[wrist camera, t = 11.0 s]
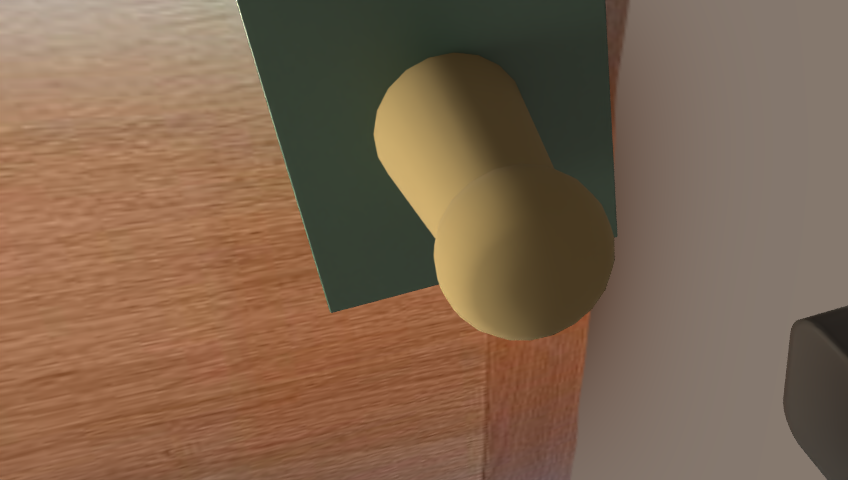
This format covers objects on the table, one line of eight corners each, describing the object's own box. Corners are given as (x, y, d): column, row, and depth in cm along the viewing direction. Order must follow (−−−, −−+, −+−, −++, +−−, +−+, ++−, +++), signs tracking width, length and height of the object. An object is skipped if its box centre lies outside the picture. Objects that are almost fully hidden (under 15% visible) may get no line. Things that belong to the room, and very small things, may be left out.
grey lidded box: (232, -65, 35) (231, -12, 27) (519, -130, 36) (600, -97, 28) (312, 209, 42) (330, 313, 34) (547, 149, 43) (618, 237, 35)
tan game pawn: (354, 181, 31) (405, 359, 22) (401, 33, 29) (481, 165, 20) (493, 210, 33) (593, 385, 24) (549, 75, 31) (685, 212, 22)
